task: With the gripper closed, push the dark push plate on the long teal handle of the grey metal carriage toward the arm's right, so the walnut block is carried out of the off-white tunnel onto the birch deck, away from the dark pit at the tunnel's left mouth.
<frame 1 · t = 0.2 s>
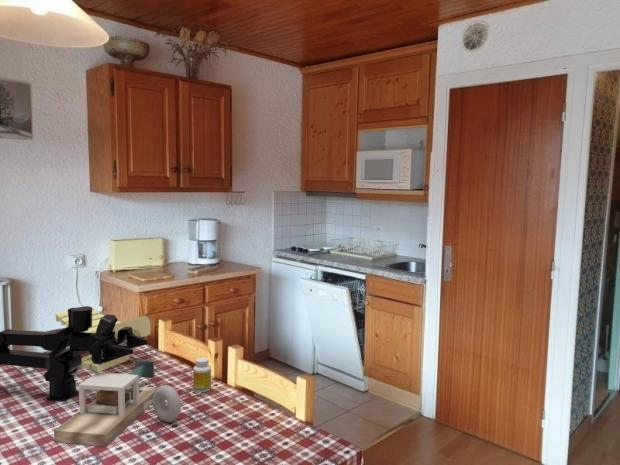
hand: (140, 346, 145), 17 cm above the table, tool horizontal, fingers open, 9 cm apart
deck: (110, 418, 136), on the table
block: (110, 407, 136), point 3 cm above the table, touching deck
tunnel: (109, 393, 135), on the deck, point 7 cm above the table
carriage: (125, 384, 144), point 6 cm above the table, slide at 0.0 cm
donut: (167, 421, 135), on the table
supplement bottle: (202, 389, 156), on the table
slatted curved stool: (104, 361, 180), on the table
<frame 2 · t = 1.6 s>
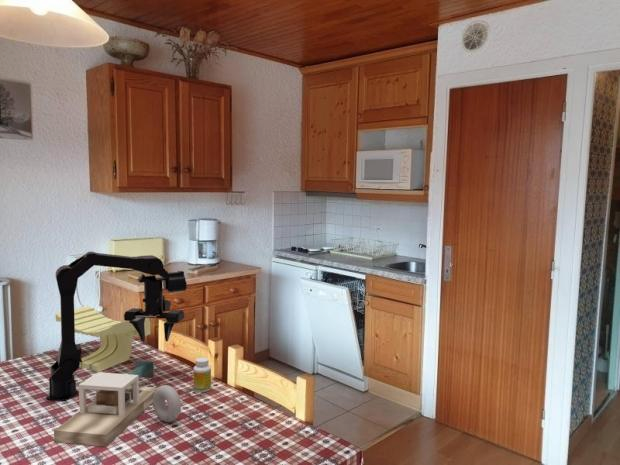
hand: (155, 340, 162), 13 cm above the table, tool pointing down, fingers open, 8 cm apart
nothing on the table moved.
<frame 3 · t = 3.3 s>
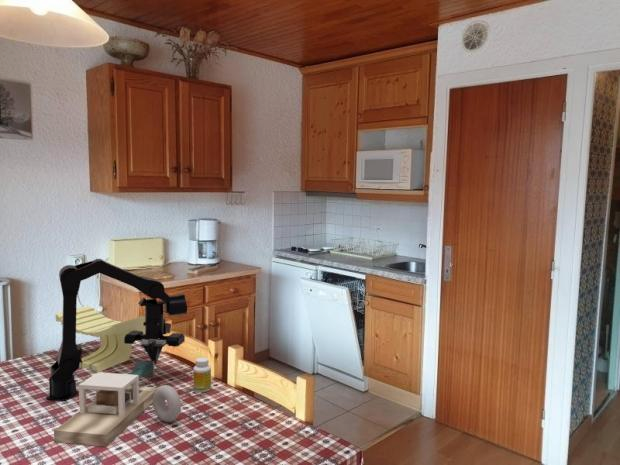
hand: (155, 363, 163), 5 cm above the table, tool pointing down, fingers closed
nothing on the table moved.
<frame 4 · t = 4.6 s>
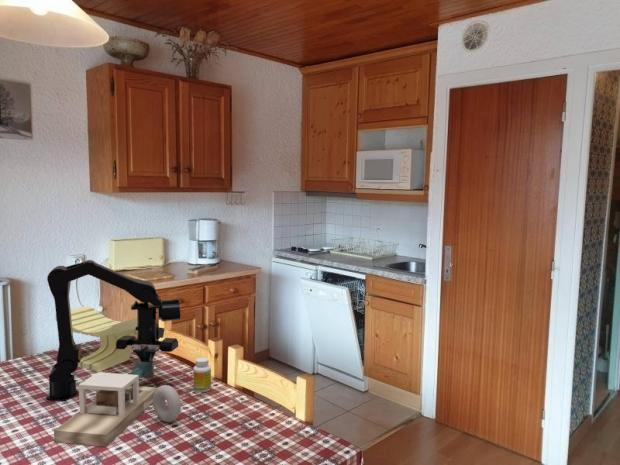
hand: (147, 369, 158), 5 cm above the table, tool pointing down, fingers closed, pressing on carriage
carriage: (125, 385, 144), point 6 cm above the table, slide at -0.3 cm, touching gripper
everything else where it was.
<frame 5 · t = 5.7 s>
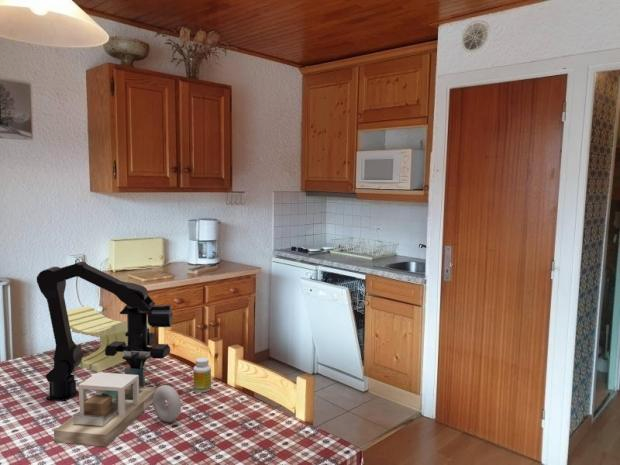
hand: (138, 376, 152), 5 cm above the table, tool pointing down, fingers closed, pressing on carriage
block: (98, 417, 130), point 3 cm above the table, touching deck
carriage: (113, 393, 138), point 6 cm above the table, slide at -6.5 cm, touching gripper
everything else where it was.
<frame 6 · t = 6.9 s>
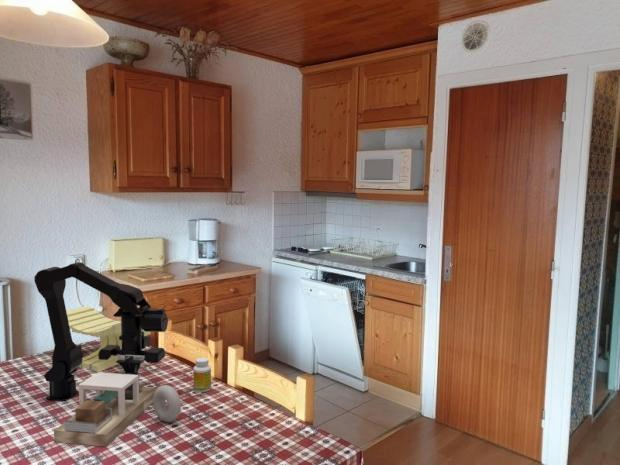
hand: (132, 381, 148), 5 cm above the table, tool pointing down, fingers closed, pressing on carriage
block: (90, 423, 127), point 3 cm above the table, touching carriage, deck
carriage: (106, 399, 134), point 6 cm above the table, slide at -10.0 cm, touching block, gripper
everything else where it was.
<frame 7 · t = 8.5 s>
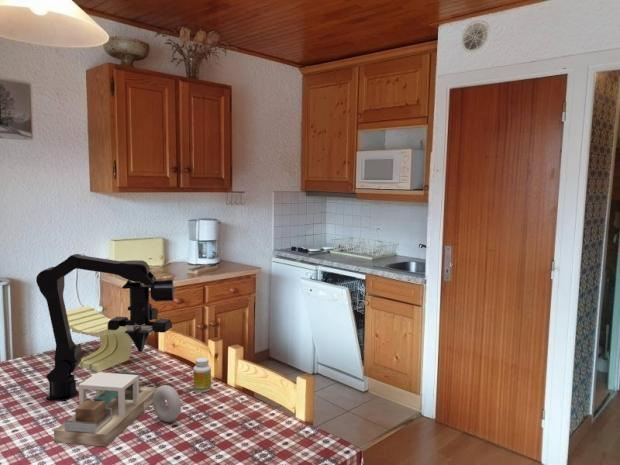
hand: (140, 351, 153), 13 cm above the table, tool pointing down, fingers closed
block: (90, 423, 127), point 3 cm above the table, touching deck
carriage: (106, 399, 134), point 6 cm above the table, slide at -10.0 cm
everything else where it was.
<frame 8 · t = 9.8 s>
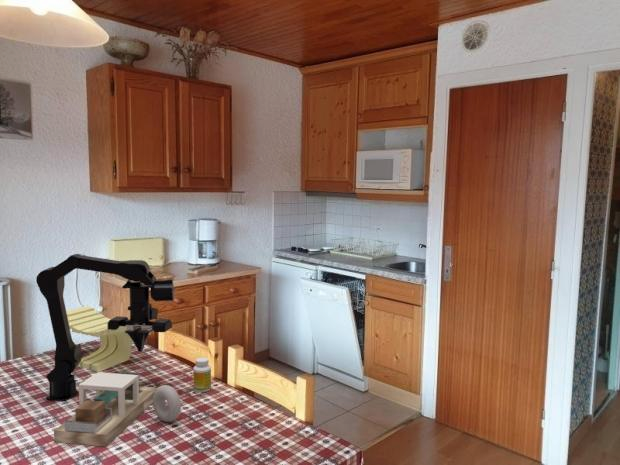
hand: (140, 351, 153), 13 cm above the table, tool pointing down, fingers closed
nothing on the table moved.
at the end: carriage slide at -10.0 cm; block inside the target area (0.3 cm from its centre), point 3.0 cm above the table; block tilted 0° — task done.
